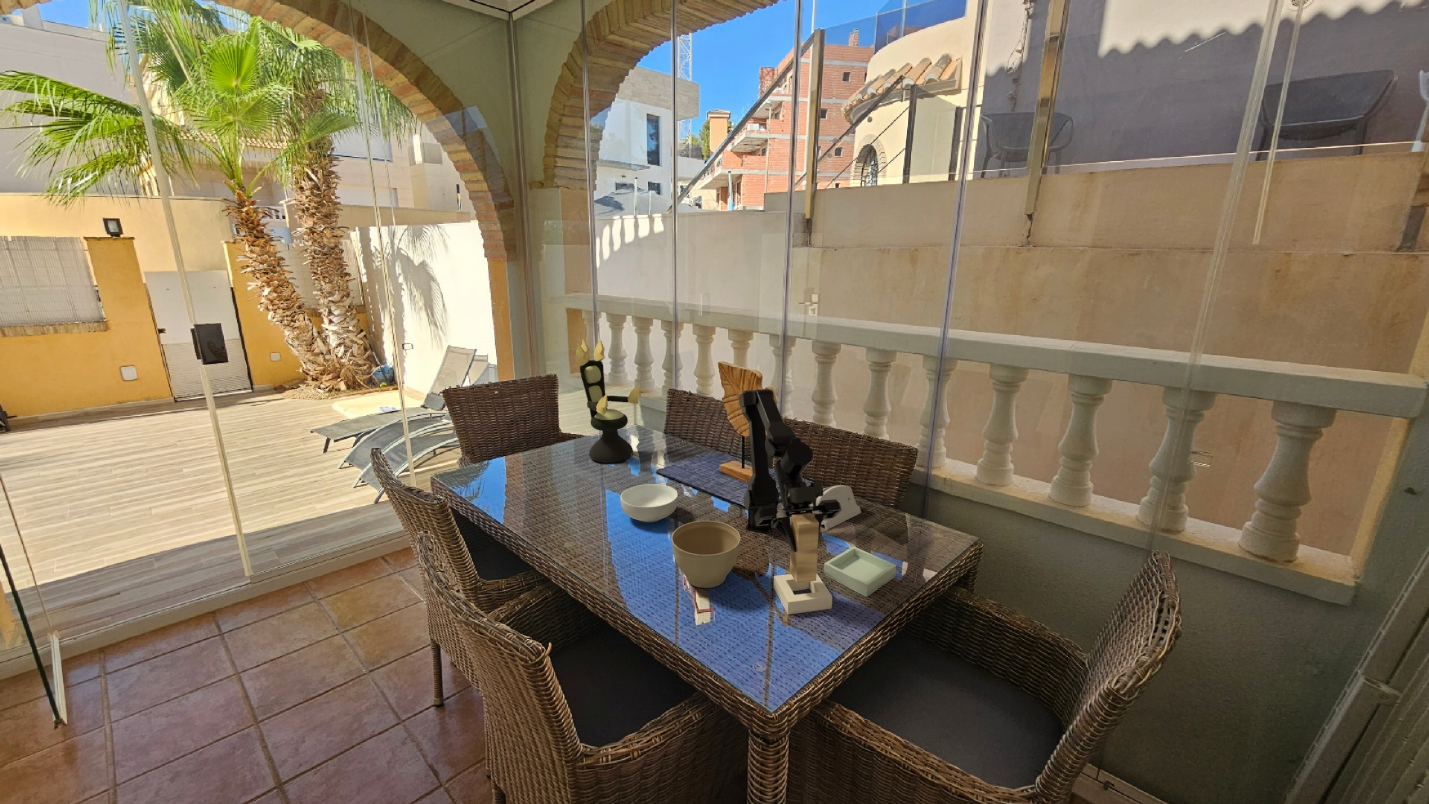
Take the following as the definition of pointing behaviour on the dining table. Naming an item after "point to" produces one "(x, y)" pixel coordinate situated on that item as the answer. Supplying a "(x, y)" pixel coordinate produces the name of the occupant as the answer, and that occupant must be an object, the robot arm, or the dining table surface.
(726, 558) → the planter bowl
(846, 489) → the white napkin holder
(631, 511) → the cereal bowl
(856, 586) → the tray
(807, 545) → the wooden block
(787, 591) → the block
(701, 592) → the dining table surface
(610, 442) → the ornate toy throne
